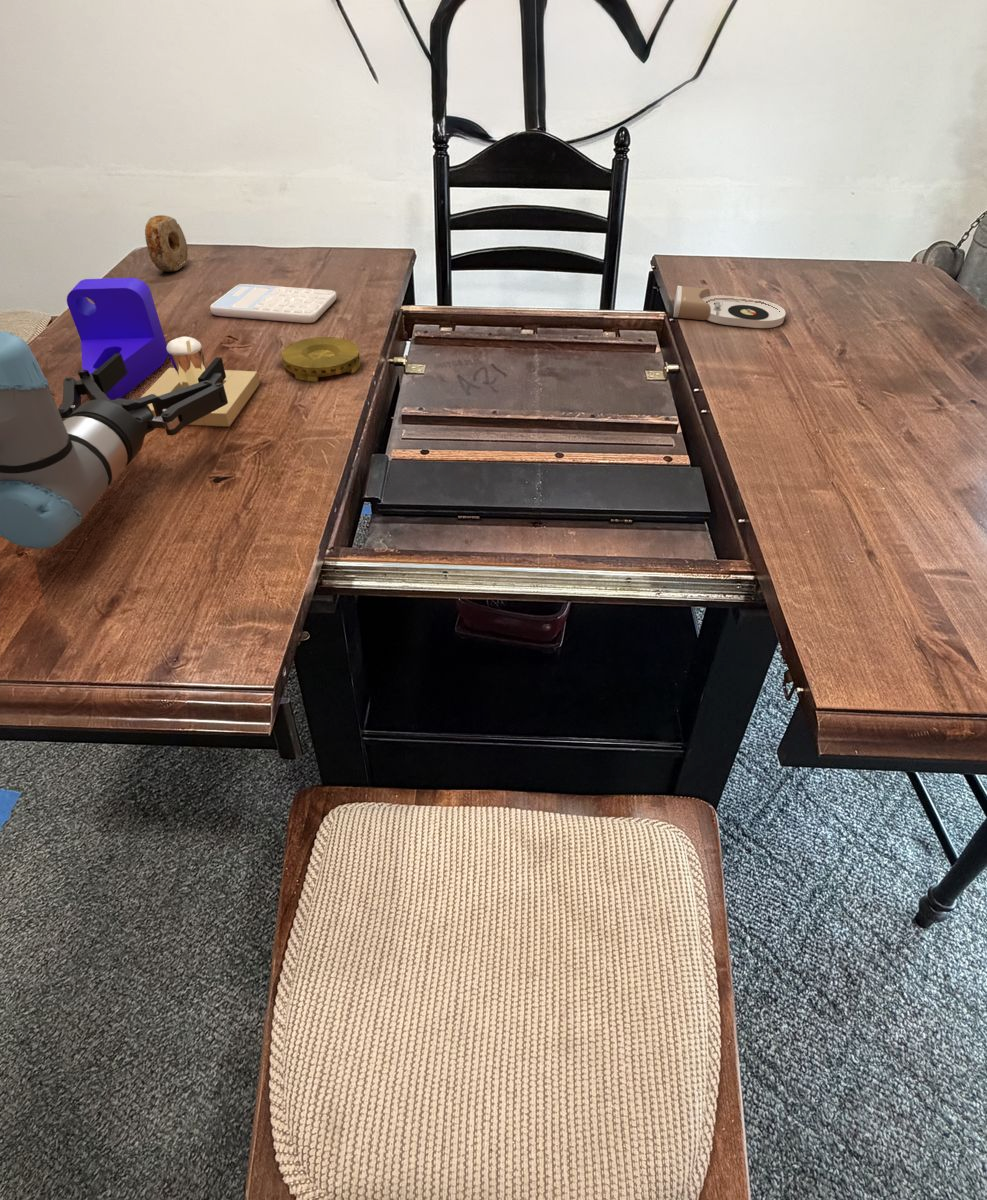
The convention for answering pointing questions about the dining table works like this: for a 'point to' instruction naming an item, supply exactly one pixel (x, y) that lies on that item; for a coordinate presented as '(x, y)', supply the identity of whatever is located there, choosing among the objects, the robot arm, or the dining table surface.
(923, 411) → the dining table surface
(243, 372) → the square frame
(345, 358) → the olive flat round disc
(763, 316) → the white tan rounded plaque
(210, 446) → the dining table surface
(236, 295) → the calculator
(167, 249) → the stone disc
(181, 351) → the milkshake
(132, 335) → the bracket
